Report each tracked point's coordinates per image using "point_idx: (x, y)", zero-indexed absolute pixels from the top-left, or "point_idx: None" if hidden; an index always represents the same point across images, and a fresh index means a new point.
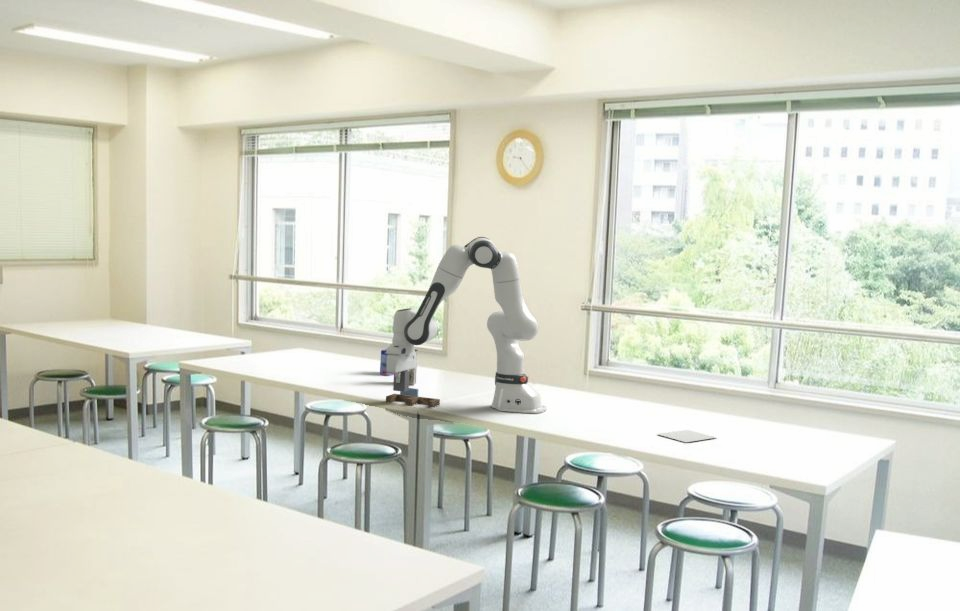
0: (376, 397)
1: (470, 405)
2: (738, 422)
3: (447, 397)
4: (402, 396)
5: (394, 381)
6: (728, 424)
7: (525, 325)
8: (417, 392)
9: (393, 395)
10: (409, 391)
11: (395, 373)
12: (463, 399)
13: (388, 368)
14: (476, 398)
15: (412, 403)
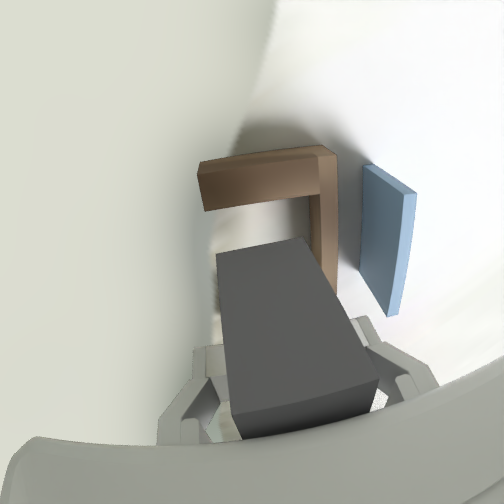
0: (311, 6)
1: (371, 406)
2: None
3: (477, 299)
4: (318, 231)
5: (222, 315)
6: None
7: None
8: (379, 303)
9: (269, 194)
10: (385, 256)
11: (162, 435)
12: (456, 347)
13: (20, 478)
14: (475, 354)
15: None
